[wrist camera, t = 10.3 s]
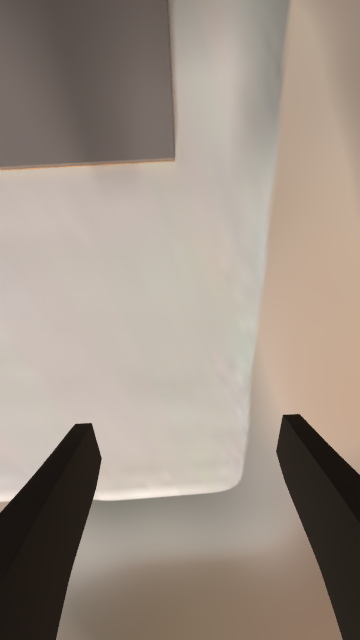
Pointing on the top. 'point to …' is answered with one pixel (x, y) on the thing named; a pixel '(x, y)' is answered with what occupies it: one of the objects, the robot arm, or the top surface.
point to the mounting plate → (84, 83)
